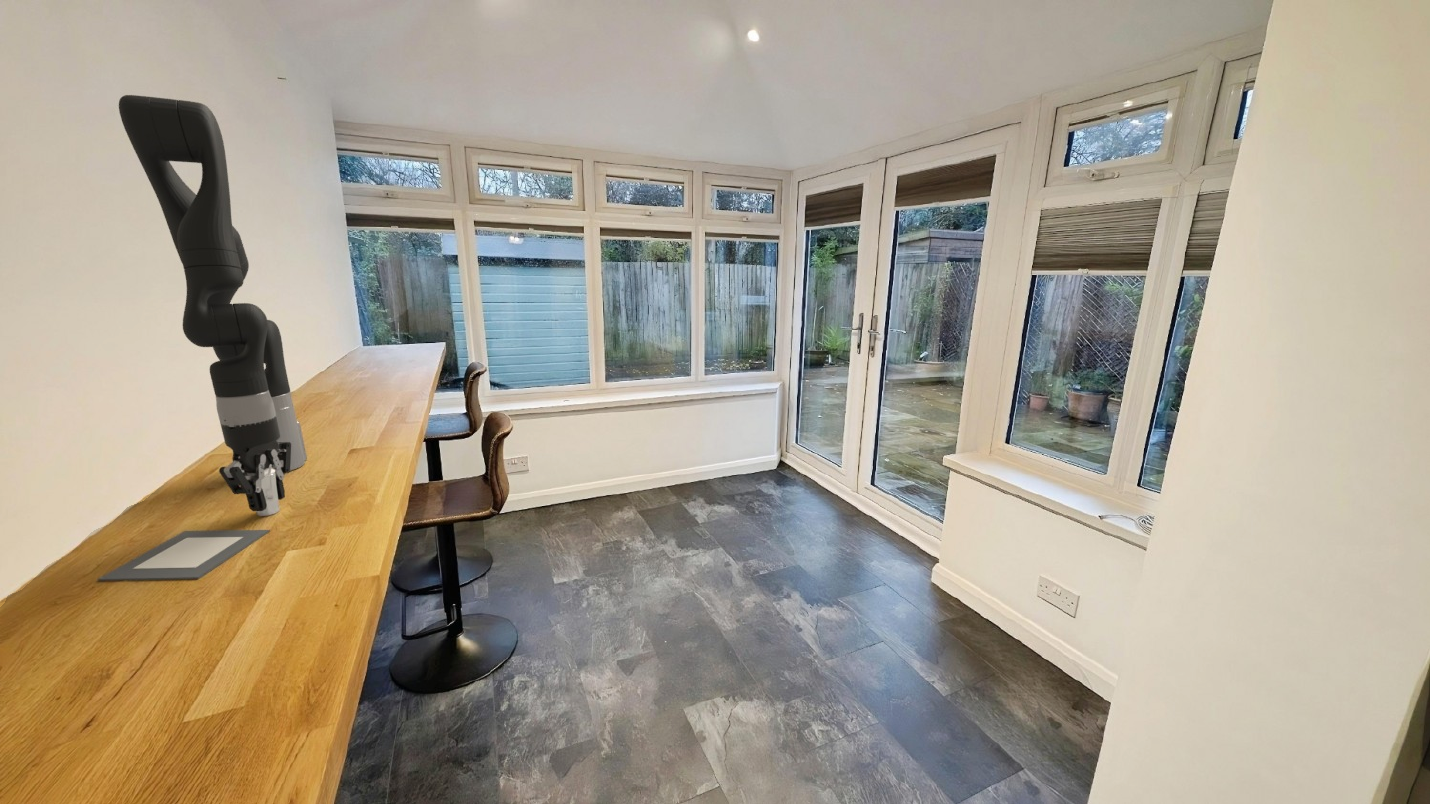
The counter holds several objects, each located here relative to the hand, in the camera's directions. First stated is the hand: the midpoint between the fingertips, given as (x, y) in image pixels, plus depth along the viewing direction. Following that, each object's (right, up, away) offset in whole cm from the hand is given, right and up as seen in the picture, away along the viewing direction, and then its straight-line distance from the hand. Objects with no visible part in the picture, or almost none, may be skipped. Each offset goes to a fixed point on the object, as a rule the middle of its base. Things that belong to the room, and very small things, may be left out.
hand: (268, 504), depth 97 cm
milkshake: (0, -2, 0) cm, 2 cm away
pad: (-1, -5, -13) cm, 14 cm away
